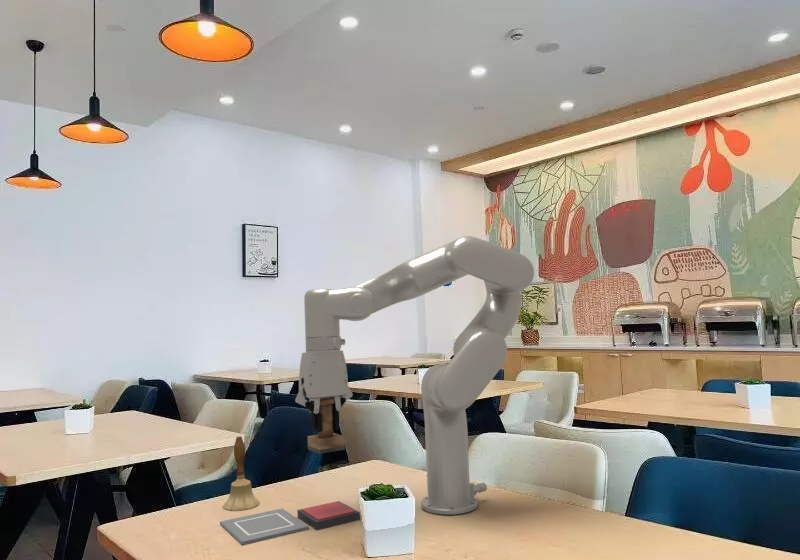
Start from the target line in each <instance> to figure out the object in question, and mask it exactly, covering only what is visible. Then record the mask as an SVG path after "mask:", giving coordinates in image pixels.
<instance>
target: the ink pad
mask: <svg viewBox="0 0 800 560" xmlns="http://www.w3.org/2000/svg"><path fill="white" fill-rule="evenodd" d="M296 513H297V518H298V519H299V520H301V521H302V522H304V523H305V524H307V525H308V526H309V527H312V528H313V529H315V530H316V531H318V530H322V529H327V528H331V527H335V526H339V525H343V524H348V523H352V522H356V521H360V520H361V514H360V513H361V512H360V511H359V510H357V509H355V508H353V507H351V506H349V505H347V504H345V503H343V502H341V501H339V500H338V501H333V502H328V503H324V504H319V505H314V506H310V507H305V508H301V509H297V512H296Z"/></svg>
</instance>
